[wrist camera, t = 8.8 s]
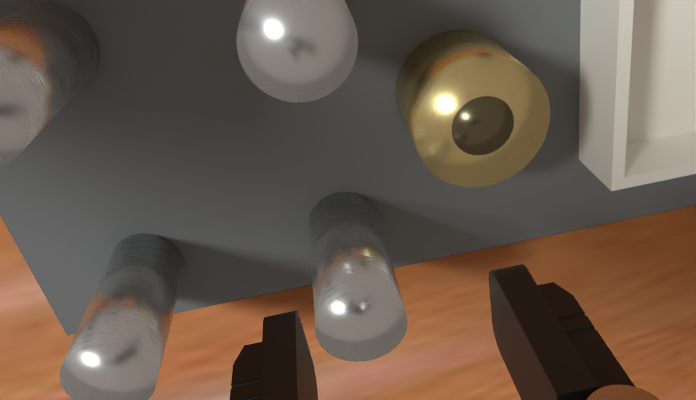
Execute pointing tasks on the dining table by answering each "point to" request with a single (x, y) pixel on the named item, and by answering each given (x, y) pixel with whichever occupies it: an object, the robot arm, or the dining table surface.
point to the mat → (284, 152)
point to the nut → (471, 108)
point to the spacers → (161, 254)
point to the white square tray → (637, 90)
